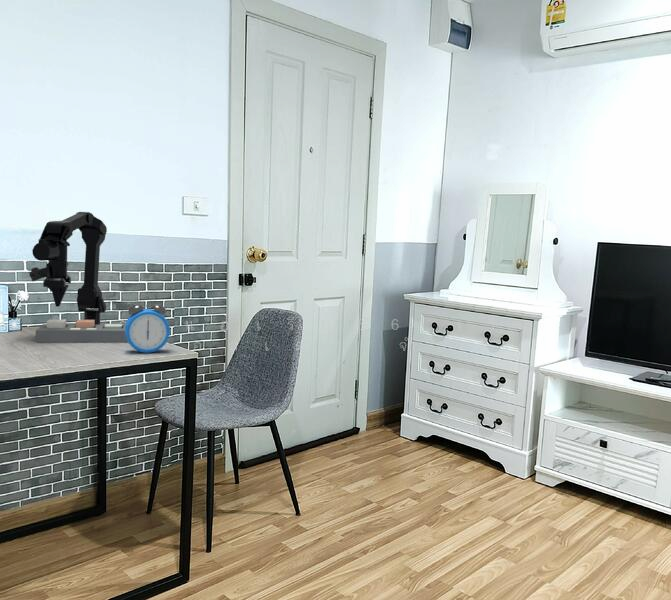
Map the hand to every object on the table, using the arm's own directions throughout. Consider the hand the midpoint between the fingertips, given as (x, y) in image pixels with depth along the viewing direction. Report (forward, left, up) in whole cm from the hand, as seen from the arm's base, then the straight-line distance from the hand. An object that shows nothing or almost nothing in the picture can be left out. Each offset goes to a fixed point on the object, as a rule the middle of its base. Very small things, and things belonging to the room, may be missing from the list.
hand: (57, 306), depth 207 cm
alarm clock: (+24, +29, -11) cm, 39 cm away
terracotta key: (0, +9, -8) cm, 12 cm away
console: (+1, +9, -11) cm, 14 cm away
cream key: (0, 0, -8) cm, 8 cm away
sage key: (0, +18, -10) cm, 20 cm away
